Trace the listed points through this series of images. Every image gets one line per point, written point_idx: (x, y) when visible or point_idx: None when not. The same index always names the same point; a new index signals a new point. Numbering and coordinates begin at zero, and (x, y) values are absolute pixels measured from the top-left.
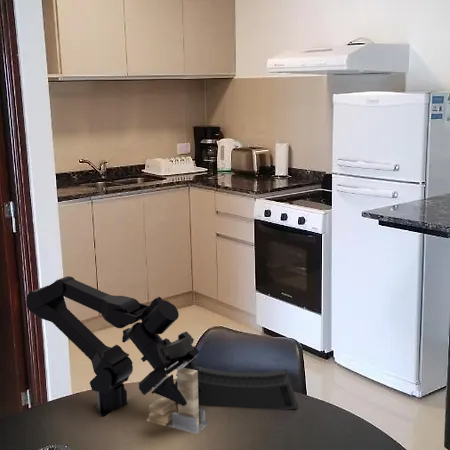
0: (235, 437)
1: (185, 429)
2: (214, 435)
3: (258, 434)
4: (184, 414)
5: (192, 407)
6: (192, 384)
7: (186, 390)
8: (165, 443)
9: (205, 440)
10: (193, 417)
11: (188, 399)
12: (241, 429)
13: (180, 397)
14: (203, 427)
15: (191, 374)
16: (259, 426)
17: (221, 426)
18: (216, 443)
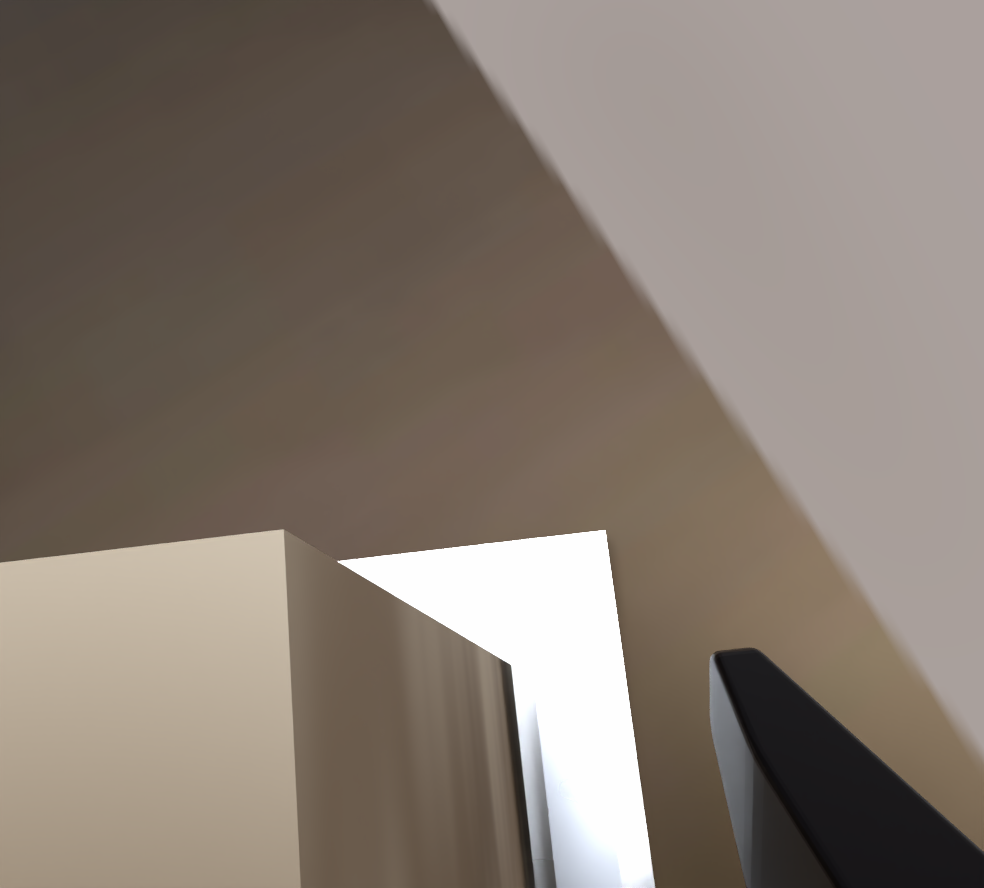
0: (361, 189)
1: (606, 745)
2: (443, 403)
3: (189, 39)
4: (520, 849)
5: (491, 668)
6: (411, 613)
7: (477, 874)
8: (966, 824)
9: (599, 424)
10: (543, 624)
11: (490, 776)
12: (174, 229)
13: (901, 792)
14: (426, 560)
15: (300, 602)
16: (30, 114)
17: (215, 455)
18: (584, 283)
